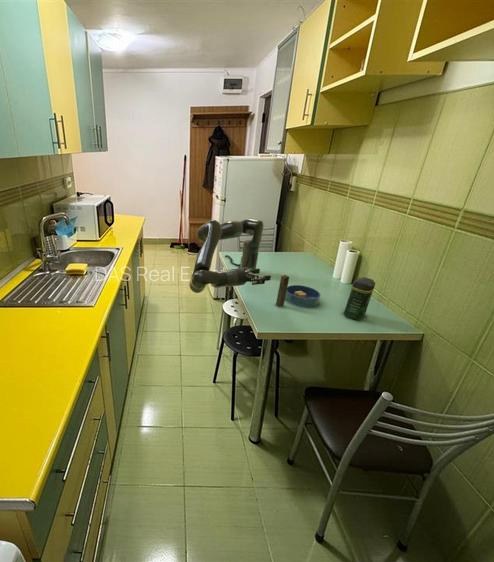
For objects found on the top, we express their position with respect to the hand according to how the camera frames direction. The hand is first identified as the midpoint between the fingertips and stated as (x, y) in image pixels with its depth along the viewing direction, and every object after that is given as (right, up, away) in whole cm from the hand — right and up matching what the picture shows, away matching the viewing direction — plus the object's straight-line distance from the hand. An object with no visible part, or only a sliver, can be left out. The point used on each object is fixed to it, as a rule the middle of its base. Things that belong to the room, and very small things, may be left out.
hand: (264, 274), depth 138 cm
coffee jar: (+43, -20, +4) cm, 48 cm away
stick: (+11, -15, +11) cm, 22 cm away
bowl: (+24, -13, +17) cm, 32 cm away
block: (+23, -13, +16) cm, 31 cm away
